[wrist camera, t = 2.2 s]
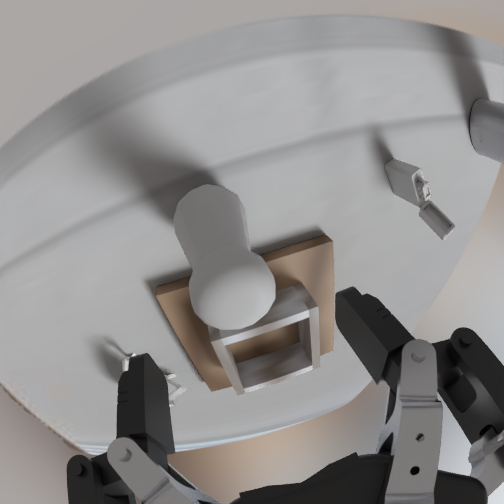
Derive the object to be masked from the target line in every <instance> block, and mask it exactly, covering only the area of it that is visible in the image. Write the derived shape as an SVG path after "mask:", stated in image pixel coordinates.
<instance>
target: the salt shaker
mask: <svg viewBox="0 0 504 504" xmlns="http://www.w3.org/2000/svg"><path fill="white" fill-rule="evenodd" d="M173 220H174V227H175V234H176V236H177V238H178V240H179V242H180V244H181V247H182V249H183V251H184V253H185V255H186V257H187V259H188V261H189V263H190V265H191V267H192V269H193V273H192V276H191V278H190V281H189V293H190V298H191V303H192V307H193V309H194V312H195V314H196V315H197V316H198V317H199V318H200V319H201V320H202V321H203V322H204V323H205V324H207V325H210V326H213V327H215V328H218V329H221V330H235V329H242V328H245V327H247V326H250V325H253V324H254V323H256V322H257V321H258V320H259V319H261V318H262V317H263V316H264V315H265V314H266V313H268V311H269V309H270V307H271V306H272V304H273V302H274V300H275V286H276V284H275V280H274V276H273V274H272V273H271V271H270V269H269V267H268V266H267V264H266V262H265V261H264V260H263V258H262V257H261V256H259V255H258V254H256V253H254V252H252V251H251V250H250V244H249V236H248V229H247V221H246V213H245V208H244V206H243V204H242V203H241V201H240V199H239V197H238V196H237V195H236V194H235V193H233V192H231V191H230V190H228V189H226V188H225V187H223V186H217V185H208V184H205V185H203V186H200V187H197V188H195V189H192V190H190V191H189V192H188V193H187V194H186V195H185V196H184V197H183V198H182V199H181V200H180V201H179V202H178V205H177V208H176V211H175V214H174V217H173Z"/></svg>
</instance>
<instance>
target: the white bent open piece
mask: <svg viewBox="0 0 504 504" xmlns="http://www.w3.org/2000/svg"><path fill="white" fill-rule="evenodd" d="M132 356H136V354H135V353H133V354H132ZM132 356H131V357H132ZM128 363H129V359H124V360H122V367H123V371H128ZM175 376H177V375H174V374H170V375H167V376H165V378H166V381H167V382H169V383H170V384H172V385H174V386H175V387H177V389H176V390H174V391H173V392H172V393H170V394H169V395H168V396H169V406H175V404H174V402H173V400H174V399H176V398H177V397H178V396H179V395H181V394H182V393H183V392H184V391H186V390H187V389H186V388H184V387H182V386H180V385H178V384H176V383H174V382H172V381H170V380H168V379H170V378H172V377H175Z"/></svg>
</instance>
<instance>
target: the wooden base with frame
mask: <svg viewBox="0 0 504 504" xmlns="http://www.w3.org/2000/svg"><path fill="white" fill-rule="evenodd" d="M259 256H261V257H262V258H263V260H264V261H265V262H266V264H267V266H268V267H269V269H270V271H271V273H272V274H273V276H274V280H275V284H276V286H275V300H274V302H273V304H272V306H271V307H270V309H269V311H268V313H266V314H265V315H264V316H263V317H262V318H261V319H259V320H258V321H257V322H256V323H254V324H253V325H250V326H247V327H245V328H242V329H235V330H221V329H218V328H215V327H213V326H210V325H207V324H205V323H204V322H203V321H202V320H201V319H200V318H199V317H198V316H197V315H196V314H195V312H194V309H193V307H192V303H191V298H190V293H189V281H190V278H191V277H188V278H184V279H181V280H178V281H175V282H171V283H168V284H165V285H161V286H158V287H157V288H156V297H157V299H158V301H159V303H160V305H161V307H162V309H163V311H164V312H165V314H166V316H167V318H168V320H169V322H170V324H171V325H172V327H173V329H174V331H175V333H176V334H177V336H178V338H179V340H180V341H181V343H182V345H183V347H184V348H185V350H186V352H187V353H188V355H189V357H190V358H191V360H192V362H193V363H194V365H195V367H196V368H197V370H198V371H199V373H200V375H201V376H202V378H203V379H204V381H205V382H206V384H207V386H208V387H209V389H210V390H211V392H212V391H216V390H220V389H223V388H227V387H231V386H233V388H234V389H235V391H236V393H237V395H240V394H243V393H247V392H250V391H253V390H257V389H260V388H263V387H266V386H269V385H272V384H275V383H278V382H281V381H284V380H286V379H289V378H292V377H295V376H297V375H300V374H303V373H305V372H308V371H310V370H313V369H315V368H318V367H320V356H321V355H323V354H325V353H328V352H330V351H333V346H334V259H333V241H332V240H331V239H330V238H329V237H328V236H327V235H323V236H320V237H317V238H314V239H310V240H307V241H304V242H301V243H298V244H294V245H291V246H288V247H285V248H282V249H278V250H275V251H272V252H269V253H266V254H262V255H259Z"/></svg>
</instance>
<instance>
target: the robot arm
mask: <svg viewBox="0 0 504 504" xmlns="http://www.w3.org/2000/svg"><path fill="white" fill-rule="evenodd" d="M470 134H471V140H472V143H473V146H474V149H475V150H476V152H477V153H478V154H481V155H483V156H486V157H489V158H491V159H494V160H496V161H498V162H501V163H503V164H504V104H503V103H499V102H495V101H490V100H485V99H478V100H477V101H475V103H474V105H473V107H472V111H471V117H470ZM335 319H336V324H337V326H338V329H339V330H340V332H341V333H342V335H343V336H344V338H345V339H346V340H347V342H348V343H349V345H350V346H351V347H352V349H353V350H354V352H355V353H356V355H357V356H358V358H359V359H360V360H361V362H362V363H363V365H364V366H365V368H366V369H367V370H368V372H369V373H370V375H371V376H372V378H373V379H374V381H375V382H376V383H377V385H380V384H381V383H383V382H385V381H386V382H387V384H388V385H389V387H388V394H387V402H386V409H385V416H384V422H383V427H382V431H381V433H380V437H379V440H378V444H377V448H376V453H375V454H367V455H360V456H358V455H357V453H356V452H355V453H353V454H351V455H349V456H347V457H345V458H342V459H340V460H338V461H336V462H334V463H331V464H329V465H327V466H326V467H325V468H323V469H322V470H320V471H319V472H317V473H316V474H314V475H313V476H311V477H310V478H308V479H307V480H305V481H303V482H301V483H295V484H284V485H272V486H265V487H262V488H258V489H254V490H250V491H245V492H241V493H239V494H240V498H238V499H236V500H234V501H233V502H231V503H230V504H487V502H488V496H489V495H490V494H491V493H492V492H493V491H494V490H495V489H496V488H498V487H499V486H500V485H501V484H502V482H504V366H503V365H502V363H501V362H500V361H499V360H498V359H497V357H496V356H495V355H494V353H493V352H492V351H491V350H490V349H489V348H488V346H487V345H486V344H485V343H484V342H483V341H482V339H481V338H480V337H479V336H478V335H477V334H476V333H475V332H474V331H473V330H471V329H469V328H458V329H456V330H455V331H454V332H453V334H452V336H451V338H450V339H448V340H445V341H440V342H437V343H432V344H430V343H429V342H427V341H425V340H421V339H415V338H414V337H413V336H412V335H411V334H410V333H409V332H408V331H407V330H406V329H405V327H404V326H403V325H402V324H401V323H400V322H399V321H398V320H397V319H396V318H395V317H394V315H393V314H391V312H390V311H389V310H388V309H387V308H385V306H384V305H383V304H382V303H381V302H380V301H379V300H378V299H377V298H375V297H373V296H371V295H369V294H364V295H361V293H360V292H359V291H358V290H357V289H356V288H355V287H349V288H347V289H345V290H342V291H340V292H337V293H336V297H335ZM437 391H438V393H439V394H440V396H441V397H442V399H443V400H444V402H445V403H446V405H447V406H448V408H449V409H450V411H451V412H452V414H453V416H454V417H455V419H456V420H457V422H458V423H459V425H460V426H461V428H462V430H463V431H464V433H465V435H466V437H467V438H468V440H469V441H470V443H471V445H472V446H471V448H470V452H469V457H468V460H469V462H470V463H471V465H472V470H471V474H470V476H466V475H460V474H455V473H450V472H446V471H441V470H437V469H438V462H439V454H440V446H441V434H442V418H443V407H442V406H443V405H442V402H441V401H438V399H437ZM117 402H118V404H117V437H116V440H114V441H113V442H112V443H111V444H110V445H109V447H108V450H107V452H106V453H103V454H101V455H99V456H96V457H94V458H91V459H89V458H87V457H85V456H83V455H76V456H73V457H72V458H71V459H70V460H69V462H68V464H67V488H68V500H69V504H136V501H135V496H134V493H135V495H136V496H137V497H138V498H139V499H140V500H141V502H142V504H221V503H219V502H218V501H216V500H215V499H214V498H212V497H211V496H209V495H207V494H205V493H204V492H202V491H201V490H199V489H198V488H197V487H196V486H194V485H193V484H192V483H191V482H189V481H188V480H187V479H186V478H185V477H184V476H183V475H181V474H180V473H179V472H178V471H177V470H175V468H174V467H172V466H171V465H170V464H169V463H168V461H167V454H173V453H175V448H174V441H173V433H172V425H171V416H170V406H169V396H168V385H167V381H166V378H165V376H164V374H163V373H162V371H161V370H160V369H159V367H158V366H157V365H156V363H155V362H154V360H153V359H152V358H151V356H150V355H149V354H148V353H145V354H141V355H137V356H132V357H130V359H129V370H128V371H123V373H122V376H121V378H120V380H119V382H118V400H117Z"/></svg>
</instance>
